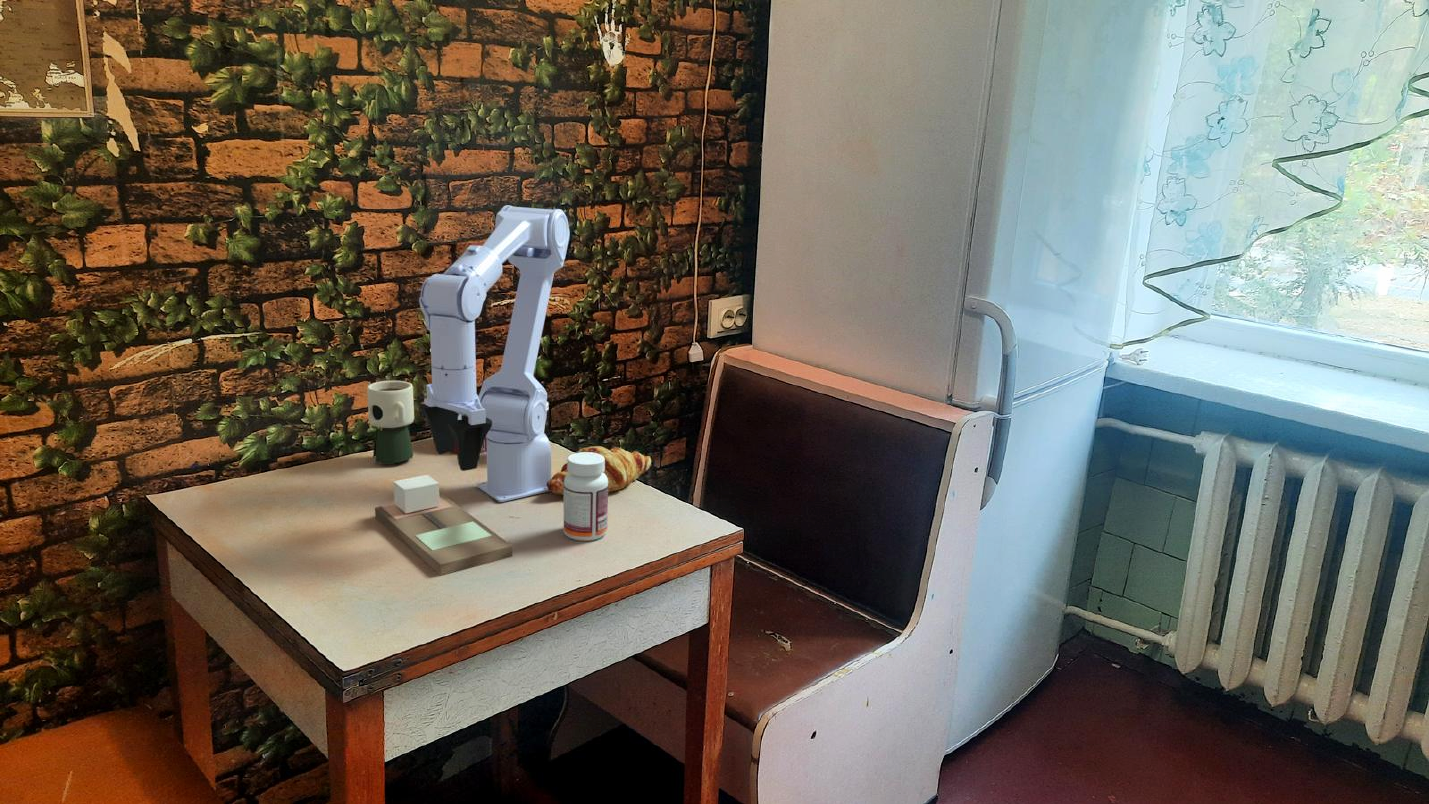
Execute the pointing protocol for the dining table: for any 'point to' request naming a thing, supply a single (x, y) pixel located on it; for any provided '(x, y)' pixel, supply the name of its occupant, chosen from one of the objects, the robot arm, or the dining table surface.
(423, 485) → the white block
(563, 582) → the dining table surface
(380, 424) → the character mug
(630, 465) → the croissant
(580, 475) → the pill bottle
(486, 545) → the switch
